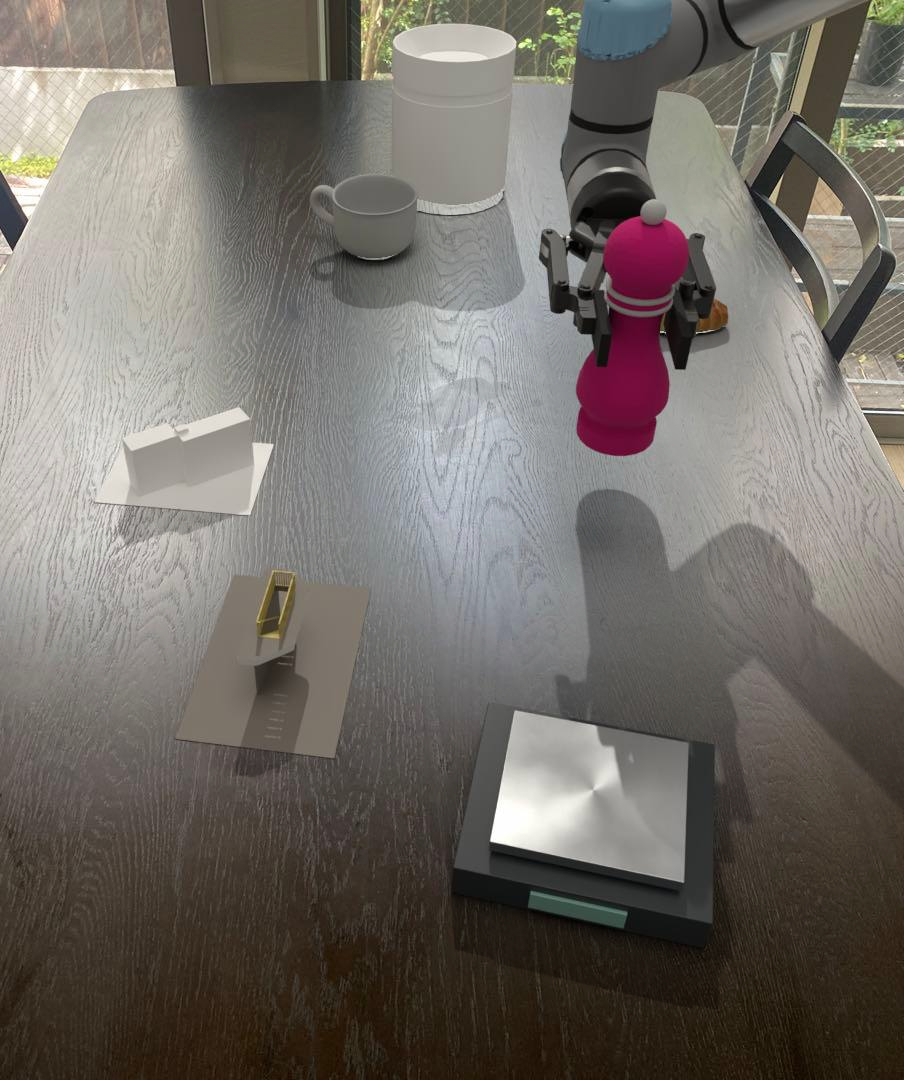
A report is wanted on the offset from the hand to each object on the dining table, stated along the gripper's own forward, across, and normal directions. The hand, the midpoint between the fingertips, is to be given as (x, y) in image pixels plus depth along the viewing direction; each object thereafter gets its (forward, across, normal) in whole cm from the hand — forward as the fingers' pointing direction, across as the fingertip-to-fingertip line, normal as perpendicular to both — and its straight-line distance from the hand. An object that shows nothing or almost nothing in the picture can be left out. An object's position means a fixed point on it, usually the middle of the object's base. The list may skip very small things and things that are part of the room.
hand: (643, 351), depth 77 cm
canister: (-79, +15, -23) cm, 84 cm away
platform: (+11, +26, -23) cm, 36 cm away
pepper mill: (-5, 0, -11) cm, 12 cm away
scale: (+25, +3, -23) cm, 34 cm away
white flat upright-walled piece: (-13, +38, -23) cm, 46 cm away
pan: (+25, +3, -20) cm, 32 cm away
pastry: (-45, -13, -23) cm, 52 cm away
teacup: (-61, +25, -23) cm, 70 cm away
